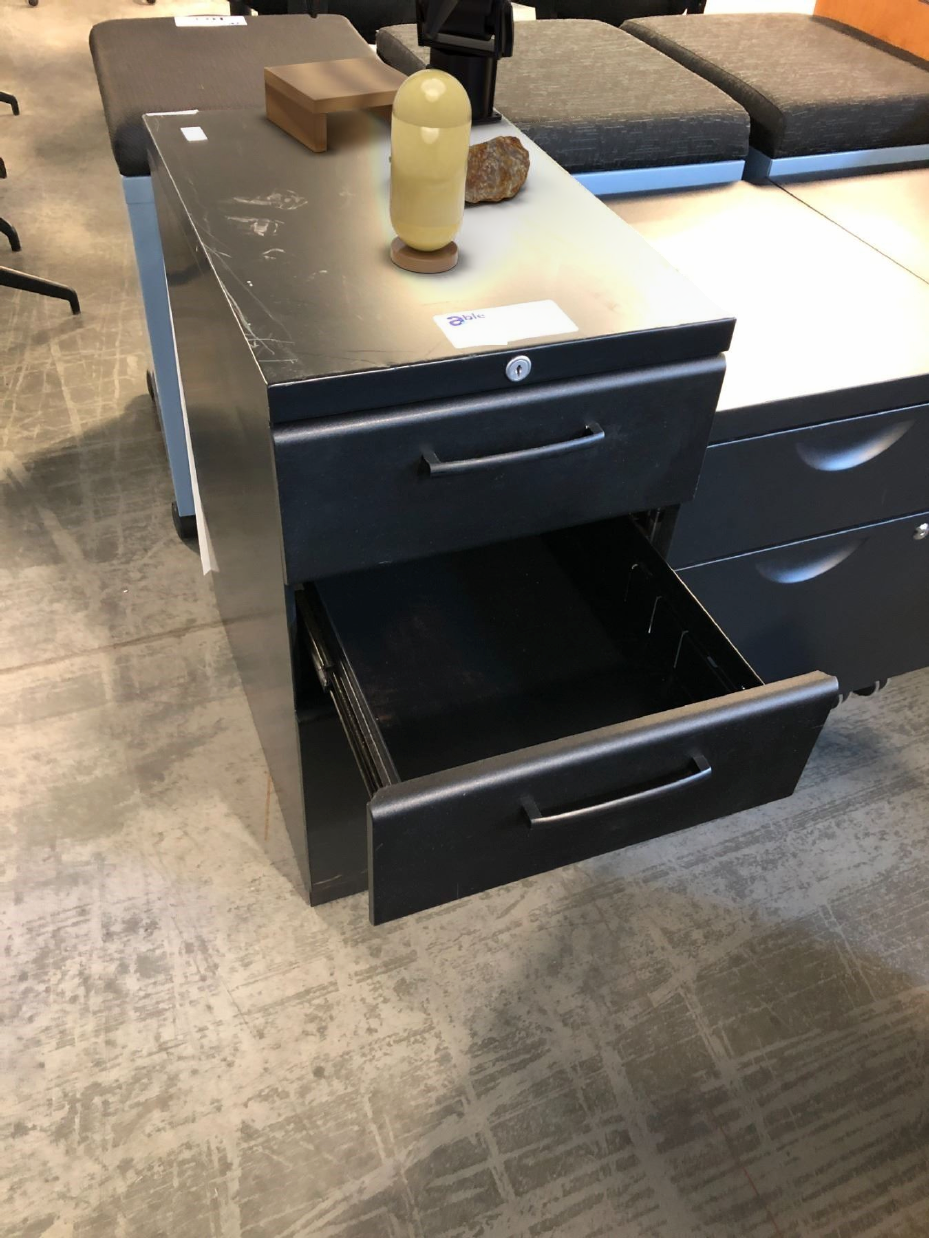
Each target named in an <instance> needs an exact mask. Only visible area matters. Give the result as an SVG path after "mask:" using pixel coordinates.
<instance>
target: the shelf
mask: <svg viewBox="0 0 929 1238" xmlns="http://www.w3.org/2000/svg"><path fill="white" fill-rule="evenodd" d="M263 77H264V79H263V80H264V96H265V99H264V100H265V115H266V116H265V117H266V119H268V120H269V121H270V122H272V123H273V124H274V125H276V126H277V127H279V128H280V129H281V130H283V131H284V132H286V133H287V134H289V135H290V136H291V137H292V138H294V139H295V140H297V141H299V142H300V143H301V144H303V145H304V146H306V147H307V148H309V149H310V150H311V151H313V152H314V153H321V152H327V151H328V148H327V146H328V145H327V143H328V142H327V140H328V139H327V138H328V137H327V113H334V112H335V113H336V112H341V111H350V110H357V109H366V110H368V111H370V112H371V113H373V114H374V115H376V116H378V117H379V118H381V119H383V120H384V121H386V122H387V123H389V124H391V125H392V107H393V101H394V98H395V95H396V93H397V91H398V89H399V87H400V85H401V84H402V83H403V82H404V81H405V80H406V79H407V78H408V77H409V75H407V74H404V73H403V72H401V71H399V70H398V69H395V68H394V67H392V66H390V65H388V64H387V63H385V62H383V61H381V60H380V59H377V58H376V57H375V56H366V57H364V56H363V57H355V58H354V57H353V58H344V59H333V60H325V61H323V60H322V61H315V62H305V63H294V64H285V65H274V66H263Z"/></svg>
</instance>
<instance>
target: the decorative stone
mask: <svg viewBox="0 0 929 1238" xmlns="http://www.w3.org/2000/svg"><path fill="white" fill-rule="evenodd" d="M388 161H389V163H390V164H391V155H390V156H388ZM530 166H531V161H530V151H529V150H528V149H527V148H525V146H524V145H523V144H522V142H521V140H520V138H518V137H517V136H512V135H505V136H502V135H497V136H495V137H493V138H492V139H489V140H486V141H483V142H480V143H475V144H473V145H471V146H470V145H469V156H468V168H467V180H466V193H465V202H469V203H472V204H476V203H478V202H499V201H501V200H502V199H504V198H505V199H509V198H512V197H514V195H515V194H516V193H518V191H519V189H520V187H521V186H522V185H524V183H525V182H526V181H527V178H528V176H529V175H528V174H529V171H530Z"/></svg>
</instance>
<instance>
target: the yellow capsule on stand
mask: <svg viewBox="0 0 929 1238" xmlns="http://www.w3.org/2000/svg"><path fill="white" fill-rule="evenodd" d="M471 119H472V110H471V104H470V100H469V97H468V95H467V92H466V90H465V89H464V87H463V86H462V84H461V83H460V82H459V81H458V80H457V79H456V78H455V77H454V76H452V75H450V74H449V73H447V72H445V71H442V70H438V69H426V68H425V69H421V70H419V71H416V72H413V73H412V74H410V76H409V75H408V78H407V79H406V80H405V81H404V82H403V83H402V84H401V85H400V87H399V89H398V91H397V93H396V95H395V98H394V101H393V107H392V124H391V130H390V131H391V134H390V156H391V163H390V168H389V170H390V171H389V174H390V175H389V202H388V203H389V208H388V210H389V211H388V212H389V219H390V223H391V227H392V229H393V231H394V233H395V235H396V237H394V238H393V239H392V240H391V242H390V259H391V261H392V262H393V263H394V264H395V265H396V266H398V267H400V268H402V269H404V270H407V271H410V272H415V273H423V274H435V273H443V272H446V271H449V270H451V269H453V268H454V267H456V264H457V263H458V260H459V259H458V257H459V247H458V245H457V243H456V242H455V241H454V240H455V239H456V237H457V236H458V234H459V233H460V230H461V228H462V225H463V221H464V215H465V204H466V200H465V193H466V180H467V168H468V156H469V147H470V143H471V142H470V141H471V130H472V125H471Z"/></svg>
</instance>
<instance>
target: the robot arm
mask: <svg viewBox="0 0 929 1238" xmlns="http://www.w3.org/2000/svg"><path fill="white" fill-rule="evenodd" d="M414 2H415V3H414V4H415V5H414V6H415V20H416V22H415V23H416V36H417V37H416V38H417V46H418V47H420V48H425V47H427V48H429V63H427V64H426V65H425V69H438V70H442V71H445V72H447V73H449V74H450V75H452V76H454V77H455V78H456V79H457V80H458V81H459V82H460V83H461V84H462V86H463V87H464V89H465V90H466V92H467V95H468V97H469V100H470V104H471V110H472V119H471V126H472V125H479V124H487V123H493V122H500V121H502V120H503V114H501V113H499V112H498V111H496V110H495V109H494V105H495V94H496V87H497V86H496V83H497V74H498V65H499V64H498V63H499V61H501V60H502V59H506V58H512V57H513V54H514V46H515V45H514V44H515V19H514V7H513V5H512V0H414ZM322 5H323V0H305V7H306V12H307V15H308V16H309V17H310V18H311V19H317V18H318V15H319V12H320V9H321V7H322Z"/></svg>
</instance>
